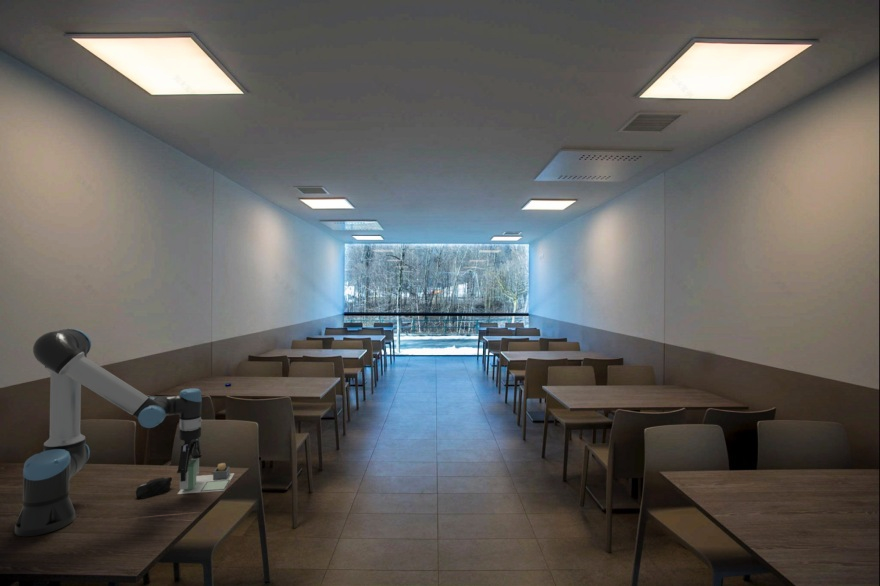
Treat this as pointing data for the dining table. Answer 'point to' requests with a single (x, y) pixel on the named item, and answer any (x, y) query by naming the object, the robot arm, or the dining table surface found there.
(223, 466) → the button
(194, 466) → the green rectangular block
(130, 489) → the dining table surface
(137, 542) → the dining table surface
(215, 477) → the button housing
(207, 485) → the board
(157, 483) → the rock
